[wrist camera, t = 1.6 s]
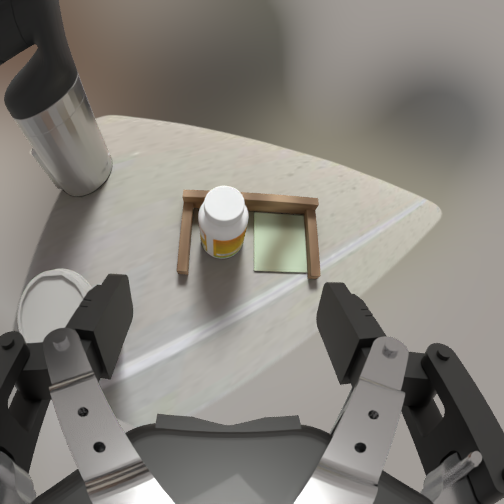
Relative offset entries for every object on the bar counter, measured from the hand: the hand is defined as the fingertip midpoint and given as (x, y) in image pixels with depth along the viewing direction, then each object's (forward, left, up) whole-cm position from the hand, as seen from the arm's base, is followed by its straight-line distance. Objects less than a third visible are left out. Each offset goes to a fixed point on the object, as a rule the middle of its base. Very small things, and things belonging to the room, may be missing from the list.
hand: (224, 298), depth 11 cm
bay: (+3, +12, -23) cm, 26 cm away
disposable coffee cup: (-15, -1, -23) cm, 28 cm away
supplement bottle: (0, +12, -23) cm, 26 cm away
